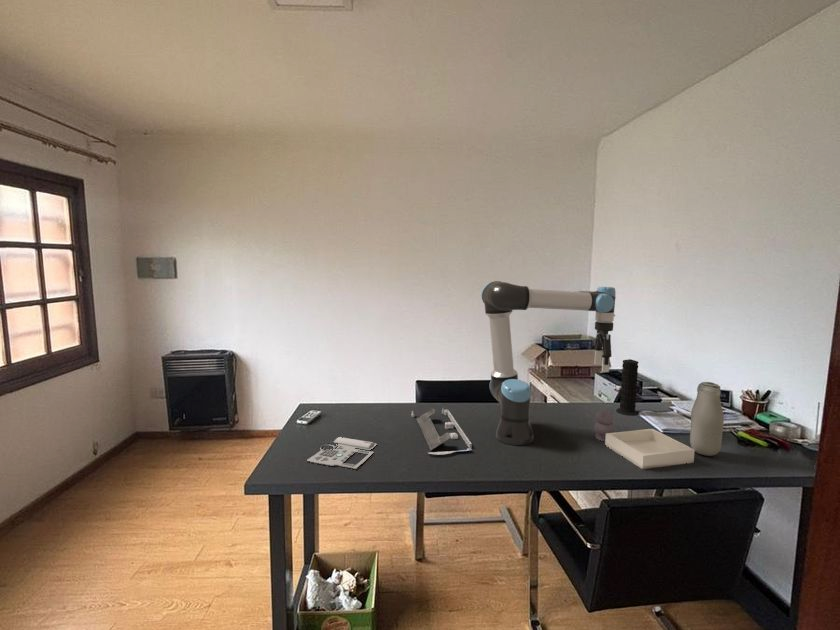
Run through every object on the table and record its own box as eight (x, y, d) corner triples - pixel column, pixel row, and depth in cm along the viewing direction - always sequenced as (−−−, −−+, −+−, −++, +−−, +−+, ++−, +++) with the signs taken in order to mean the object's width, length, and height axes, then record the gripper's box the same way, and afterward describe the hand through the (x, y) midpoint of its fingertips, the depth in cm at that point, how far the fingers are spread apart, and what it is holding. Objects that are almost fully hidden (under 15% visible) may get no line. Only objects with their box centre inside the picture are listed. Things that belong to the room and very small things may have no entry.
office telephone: (339, 433, 173) (383, 440, 166) (339, 439, 173) (383, 447, 166) (305, 456, 151) (354, 466, 144) (306, 463, 152) (354, 473, 145)
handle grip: (614, 407, 211) (617, 414, 201) (617, 356, 208) (620, 360, 198) (636, 409, 208) (640, 416, 199) (639, 357, 205) (644, 362, 195)
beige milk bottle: (711, 449, 163) (718, 379, 160) (725, 461, 153) (732, 387, 150) (683, 447, 165) (689, 378, 162) (695, 458, 155) (701, 385, 152)
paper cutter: (448, 414, 202) (448, 403, 201) (475, 455, 158) (476, 441, 158) (411, 416, 199) (411, 405, 198) (428, 459, 155) (429, 445, 155)
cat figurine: (601, 433, 179) (603, 406, 177) (618, 439, 172) (620, 411, 171) (589, 437, 174) (590, 409, 173) (605, 444, 168) (607, 415, 166)
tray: (642, 469, 147) (643, 455, 147) (605, 445, 167) (605, 433, 166) (693, 462, 152) (694, 449, 152) (651, 440, 172) (652, 428, 171)
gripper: (621, 325, 173) (618, 375, 176) (605, 318, 197) (602, 362, 200) (602, 325, 174) (599, 374, 177) (589, 317, 199) (586, 361, 201)
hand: (601, 368), depth 188 cm, fingers open, 13 cm apart
